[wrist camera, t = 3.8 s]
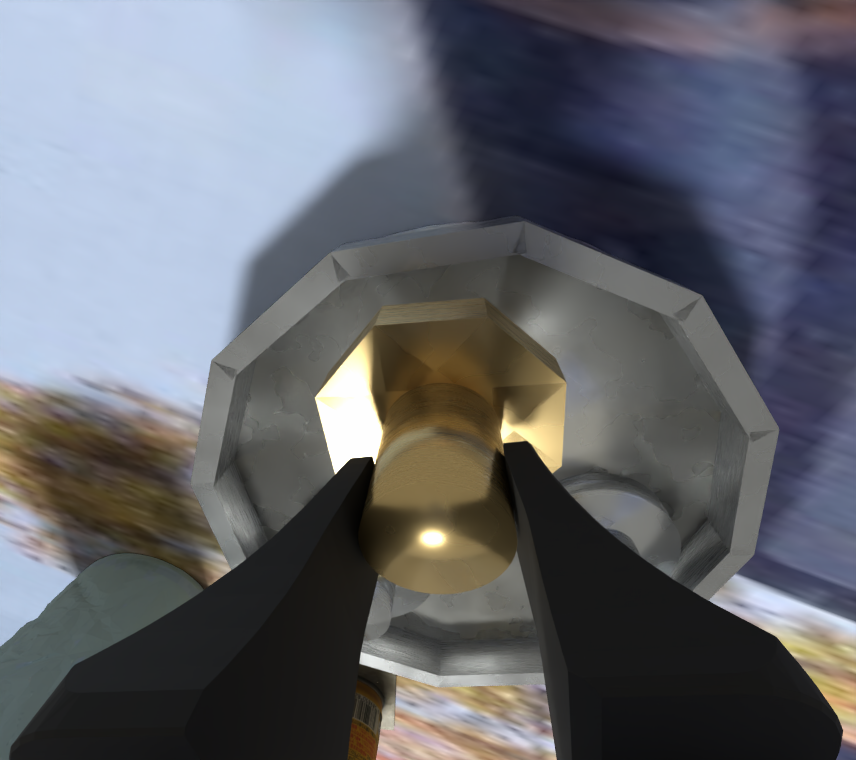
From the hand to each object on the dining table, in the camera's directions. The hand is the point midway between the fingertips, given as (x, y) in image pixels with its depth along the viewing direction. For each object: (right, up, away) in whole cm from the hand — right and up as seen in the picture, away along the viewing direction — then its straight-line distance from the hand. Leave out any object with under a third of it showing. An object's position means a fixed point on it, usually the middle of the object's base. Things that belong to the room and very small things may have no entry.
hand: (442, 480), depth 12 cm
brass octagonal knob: (0, +2, +3) cm, 3 cm away
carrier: (+2, -2, +11) cm, 11 cm away
